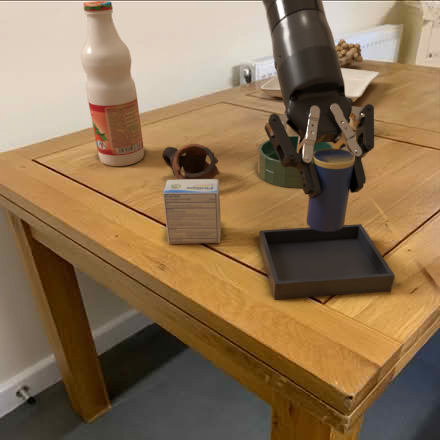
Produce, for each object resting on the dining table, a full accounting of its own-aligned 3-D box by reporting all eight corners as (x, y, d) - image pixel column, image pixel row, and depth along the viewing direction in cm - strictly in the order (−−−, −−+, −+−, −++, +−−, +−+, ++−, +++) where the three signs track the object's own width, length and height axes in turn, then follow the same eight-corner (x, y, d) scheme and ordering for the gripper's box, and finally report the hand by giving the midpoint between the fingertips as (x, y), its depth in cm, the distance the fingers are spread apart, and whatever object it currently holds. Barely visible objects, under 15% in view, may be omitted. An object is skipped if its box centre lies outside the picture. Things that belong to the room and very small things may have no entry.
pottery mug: (228, 177, 90) (228, 149, 82) (204, 215, 87) (202, 189, 79) (175, 153, 92) (170, 124, 85) (150, 189, 89) (142, 162, 82)
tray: (358, 238, 70) (361, 223, 69) (391, 291, 60) (395, 275, 58) (258, 244, 70) (259, 230, 68) (274, 299, 59) (275, 283, 58)
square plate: (290, 77, 148) (291, 63, 146) (378, 84, 138) (381, 70, 136) (258, 99, 129) (258, 84, 127) (357, 110, 119) (359, 94, 117)
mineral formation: (341, 60, 164) (373, 65, 153) (312, 73, 160) (343, 78, 149) (340, 35, 159) (374, 38, 148) (310, 47, 155) (342, 51, 144)
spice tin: (338, 212, 63) (348, 147, 57) (349, 231, 59) (360, 162, 53) (302, 215, 62) (308, 149, 57) (310, 233, 59) (318, 165, 53)
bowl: (322, 158, 95) (324, 133, 92) (342, 188, 84) (345, 161, 81) (253, 162, 95) (253, 137, 92) (264, 192, 83) (265, 166, 80)
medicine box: (221, 229, 73) (219, 178, 68) (220, 244, 70) (218, 191, 65) (171, 230, 74) (166, 178, 68) (167, 245, 70) (162, 192, 65)
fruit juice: (137, 168, 94) (114, 5, 76) (92, 166, 95) (60, 6, 78) (150, 150, 101) (131, -2, 84) (108, 149, 102) (81, -1, 85)
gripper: (258, 47, 53) (290, 190, 51) (373, 38, 56) (407, 173, 54) (244, 85, 60) (271, 211, 58) (346, 76, 63) (375, 196, 61)
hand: (336, 192), depth 56 cm, fingers closed on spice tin, 5 cm apart
